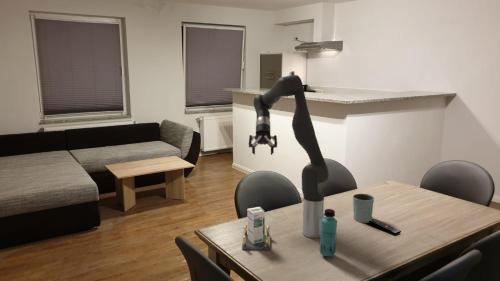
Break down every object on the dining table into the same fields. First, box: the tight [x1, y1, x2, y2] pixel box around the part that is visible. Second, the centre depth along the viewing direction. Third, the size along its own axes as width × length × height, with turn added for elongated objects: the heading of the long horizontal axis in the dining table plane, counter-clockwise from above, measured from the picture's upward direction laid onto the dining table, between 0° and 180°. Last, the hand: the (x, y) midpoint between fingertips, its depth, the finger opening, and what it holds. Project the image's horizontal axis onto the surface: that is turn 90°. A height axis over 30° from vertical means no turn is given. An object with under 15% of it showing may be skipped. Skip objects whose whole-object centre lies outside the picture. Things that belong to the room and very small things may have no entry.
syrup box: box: [246, 206, 266, 244], centre depth 161 cm, size 6×6×14 cm
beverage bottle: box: [319, 208, 338, 257], centre depth 150 cm, size 6×7×20 cm
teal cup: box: [352, 193, 375, 224], centre depth 186 cm, size 10×10×12 cm
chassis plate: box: [241, 224, 271, 251], centre depth 162 cm, size 12×12×6 cm
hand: (262, 153), depth 183 cm, fingers open, 8 cm apart
